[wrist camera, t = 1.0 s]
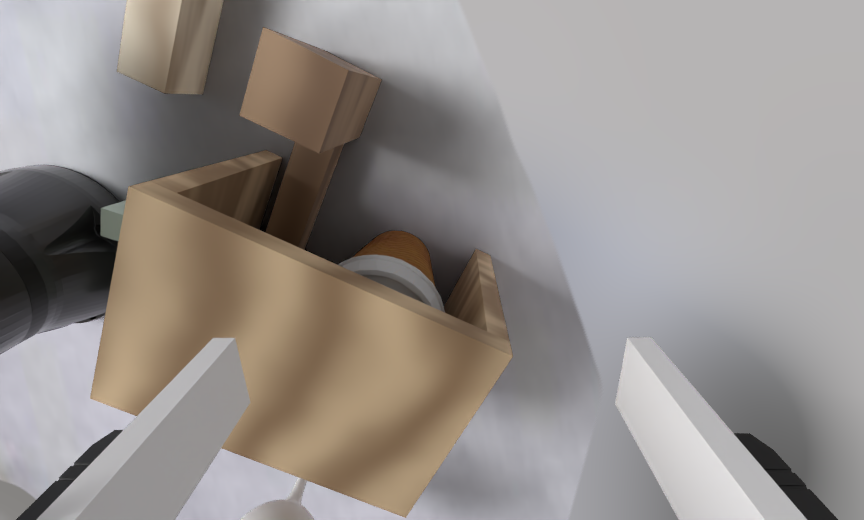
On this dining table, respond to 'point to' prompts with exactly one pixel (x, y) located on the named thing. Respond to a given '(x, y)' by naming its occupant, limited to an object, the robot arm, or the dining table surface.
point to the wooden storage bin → (296, 337)
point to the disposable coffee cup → (398, 266)
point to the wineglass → (283, 507)
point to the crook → (305, 121)
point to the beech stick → (169, 43)
